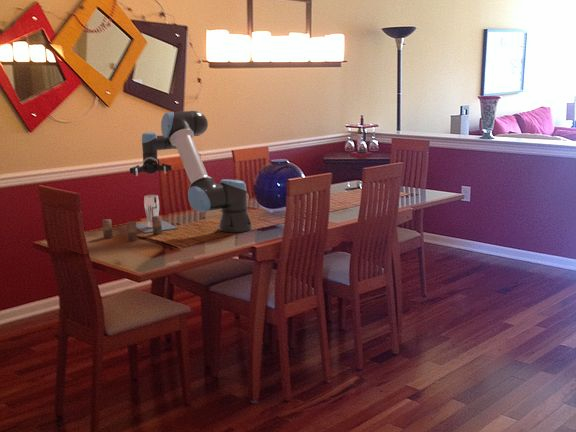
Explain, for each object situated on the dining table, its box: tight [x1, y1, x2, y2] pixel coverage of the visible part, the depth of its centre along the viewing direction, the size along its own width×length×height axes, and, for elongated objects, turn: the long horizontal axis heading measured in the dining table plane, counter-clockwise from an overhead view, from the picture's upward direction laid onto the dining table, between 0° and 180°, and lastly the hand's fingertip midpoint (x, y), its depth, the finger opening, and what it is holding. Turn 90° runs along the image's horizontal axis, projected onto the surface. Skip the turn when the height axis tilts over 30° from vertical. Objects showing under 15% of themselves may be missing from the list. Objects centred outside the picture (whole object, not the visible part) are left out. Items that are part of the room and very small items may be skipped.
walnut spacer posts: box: [102, 215, 163, 242], centre depth 319 cm, size 16×25×8 cm, turn 119°
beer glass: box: [143, 194, 160, 228], centre depth 335 cm, size 7×7×15 cm
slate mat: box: [136, 220, 179, 234], centre depth 338 cm, size 20×16×1 cm
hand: (150, 172), depth 341 cm, fingers open, 13 cm apart
